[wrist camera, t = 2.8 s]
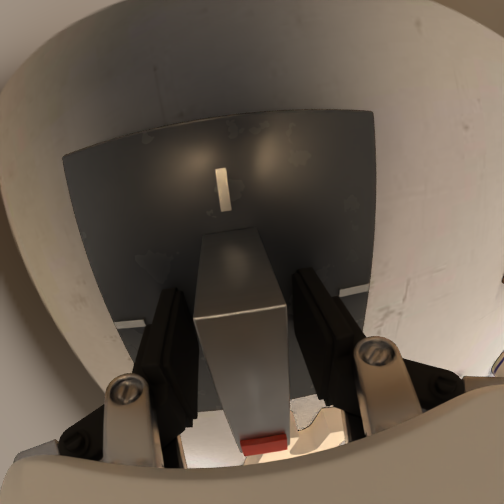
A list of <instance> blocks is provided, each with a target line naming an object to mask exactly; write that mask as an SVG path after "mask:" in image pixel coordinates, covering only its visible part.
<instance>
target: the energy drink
mask: <svg viewBox="0 0 504 504" xmlns="http://www.w3.org/2000/svg"><path fill="white" fill-rule="evenodd" d="M492 373H493V374H494V376H495V377H504V352H503V353H502V354H501V355H500V357H499V358H498V359H497V361H496V362H495V364H494V366H493V368H492Z"/></svg>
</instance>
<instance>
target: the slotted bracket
mask: <svg viewBox="0 0 504 504" xmlns="http://www.w3.org/2000/svg"><path fill="white" fill-rule="evenodd" d="M344 439H345V438H344V430H343V423H342V415H341V409H338V408H335V407H331V408H323V409H321V410H320V412H319V414H318V415H317V417H316V418H315V420H314V421H313V423H312V424H311V425H310V426H309V427H308V428H306V429H304V430H301V431H298V430H297V426H296V423H295V419H294V415H293V412H292V411H290V445H288V446H287V448H288V449H287V450H283V451H277V452H271V453H265V454H258V455H251V456H247V458H246V460H245V462H244V465H250V464H258V463H265V462H271V461H277V460H283V459H288V458H293V457H298V456H302V455H307V454H311V453H315V452H319V451H323V450H326V449H330V448H334V447H337V446H339V445H340V444H341V442H342V441H343V440H344Z"/></svg>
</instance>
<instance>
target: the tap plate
mask: <svg viewBox="0 0 504 504" xmlns="http://www.w3.org/2000/svg"><path fill="white" fill-rule="evenodd" d="M62 160H63V165H64V171H65V176H66V180H67V185H68V190H69V194H70V198H71V202H72V206H73V210H74V214H75V218H76V221H77V225H78V228H79V232H80V235H81V238H82V242H83V245H84V248H85V251H86V254H87V257H88V260H89V263H90V266H91V268H92V271H93V274H94V276H95V279H96V282H97V284H98V287H99V289H100V292H101V294H102V297H103V299H104V302H105V304H106V306H107V309H108V311H109V313H110V315H111V318H112V320H113V322H114V324H115V326H116V329H117V331H118V333H119V335H120V337H121V339H122V341H123V343H124V345H125V347H126V349H127V351H128V353H129V355H130V357H131V358H132V360H133V362H134V364H135V360H136V356H137V353H138V349H139V346H140V342H141V339H142V335H143V332H144V329H145V326H146V325H147V324H152V321H153V318H154V314H155V311H156V307H157V304H158V301H159V297H160V294H161V291H162V289H168V288H175V287H176V288H177V289H178V291H181V290H182V291H183V293H184V296H185V300H186V303H187V307H188V310H189V314H190V317H191V321H192V324H193V327H194V330H195V334H196V337H197V340H198V344H199V373H198V412H204V411H216V410H223V408H222V405H221V402H220V400H219V397H218V394H217V391H216V389H215V386H214V383H213V380H212V377H211V374H210V371H209V368H208V365H207V362H206V359H205V356H204V353H203V350H202V347H201V344H200V341H199V337H198V334H197V331H196V328H195V324H194V321H193V315H194V305H195V296H196V287H197V278H198V270H199V262H200V254H201V246H202V239H203V235H207V234H214V233H220V232H227V231H234V230H240V229H247V228H254V227H255V228H256V229H257V231H258V234H259V236H260V239H261V241H262V244H263V246H264V249H265V251H266V254H267V256H268V259H269V262H270V264H271V267H272V269H273V272H274V274H275V277H276V279H277V282H278V285H279V287H280V290H281V292H282V295H283V297H284V300H285V303H286V305H287V324H288V349H289V382H290V399H295V398H300V397H305V396H309V395H313V394H316V391H315V388H314V386H313V383H312V380H311V377H310V375H309V372H308V369H307V366H306V364H305V361H304V358H303V355H302V353H301V350H300V347H299V344H298V342H297V339H296V336H295V332H294V315H293V287H292V274H295V273H297V269H302V268H308V267H312V268H313V269H314V271H315V272H316V274H317V276H318V277H319V279H320V280H321V282H322V283H323V285H324V286H325V288H326V289H327V291H328V292H329V294H330V295H331V297H333V296H338V297H339V298H340V299H341V300H342V302H343V303H344V305H345V306H346V308H347V309H348V311H349V312H350V314H351V315H352V317H353V318H354V320H355V321H356V323H357V324H358V326H359V327H360V329H361V330H362V332H363V326H364V320H365V314H366V307H367V300H368V293H369V285H370V277H371V268H372V258H373V246H374V231H375V211H376V148H375V128H374V115H373V112H372V111H364V110H341V109H304V110H279V111H265V112H253V113H243V114H234V115H226V116H218V117H211V118H205V119H199V120H193V121H187V122H182V123H176V124H171V125H167V126H162V127H157V128H153V129H149V130H145V131H140V132H136V133H133V134H129V135H125V136H121V137H118V138H114V139H111V140H108V141H104V142H101V143H98V144H95V145H92V146H89V147H86V148H83V149H80V150H77V151H74V152H71V153H69V154H66V155H64V156H63V157H62Z"/></svg>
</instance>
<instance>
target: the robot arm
mask: <svg viewBox="0 0 504 504" xmlns="http://www.w3.org/2000/svg"><path fill="white" fill-rule="evenodd" d="M292 287H293V315H294V332H295V336H296V339H297V342H298V344H299V347H300V350H301V353H302V355H303V358H304V361H305V364H306V366H307V369H308V372H309V375H310V377H311V380H312V383H313V386H314V388H315V391H316V394H317V397H318V399H319V400H322V399H324V401H325V404H326V407H327V406H330V405H334V407H335V408H338V409H341V415H342V423H343V430H344V438H345V444H344V445H340V446H337V447H334V448H330V449H326V450H323V451H319V452H315V453H311V454H307V455H302V456H298V457H293V458H288V459H283V460H277V461H271V462H265V463H258V464H250V465H241V466H231V467H217V468H189V469H188V468H187V464H186V459H185V455H184V450H183V446H182V441H181V436H180V434H181V433H182V432H183V431H184V430H185V427H193V419H197V417H198V373H199V344H198V340H197V337H196V334H195V330H194V327H193V324H192V321H191V317H190V314H189V310H188V307H187V303H186V300H185V296H184V293H183V291H182V290H181V291H178V289H177V288H176V287H175V288H168V289H162V291H161V294H160V297H159V301H158V304H157V307H156V311H155V314H154V318H153V321H152V324H147V325H146V326H145V329H144V332H143V335H142V339H141V342H140V346H139V349H138V353H137V356H136V360H135V364H134V367H133V371H132V373H126V374H123V375H120V376H118V377H116V378H114V379H113V380H112V381H111V382H110V383H109V385H108V387H107V389H106V393H105V404H104V405H102V406H101V407H99V408H98V409H96V410H95V411H93V412H92V413H91V414H89V415H88V416H86V417H85V418H83V419H81V420H80V421H78V422H77V423H75V424H74V425H73V426H71V427H69V428H68V429H67V430H65V432H63V434H62V435H61V437H60V440H59V441H57V440H56V439H54V440H52V441H50V442H47V443H44V444H41V445H39V446H36V447H33V448H30V449H28V450H25V451H22V452H20V453H18V454H17V456H16V457H15V459H14V462H13V464H12V465H11V467H10V468H9V469H8V471H7V473H6V475H5V478H4V481H3V484H2V487H1V490H0V504H504V377H475V376H464V377H463V378H462V379H460V378H459V376H458V375H456V374H455V373H454V372H451V371H449V370H445V369H441V368H437V367H433V366H429V365H426V364H422V363H418V362H414V361H411V360H407V359H404V358H402V356H401V354H400V351H399V349H398V347H397V346H396V344H395V343H393V342H392V341H391V340H389V339H387V338H385V337H380V336H371V337H367V338H366V336H365V335H364V333H363V332H362V330H361V329H360V327H359V326H358V324H357V323H356V321H355V320H354V318H353V317H352V315H351V314H350V312H349V311H348V309H347V308H346V306H345V305H344V303H343V302H342V300H341V299H340V298H339V297H338V296H333V297H331V295H330V294H329V292H328V291H327V289H326V288H325V286H324V285H323V283H322V282H321V280H320V279H319V277H318V276H317V274H316V272H315V271H314V269H313V268H312V267H308V268H302V269H297V273H295V274H292Z"/></svg>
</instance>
